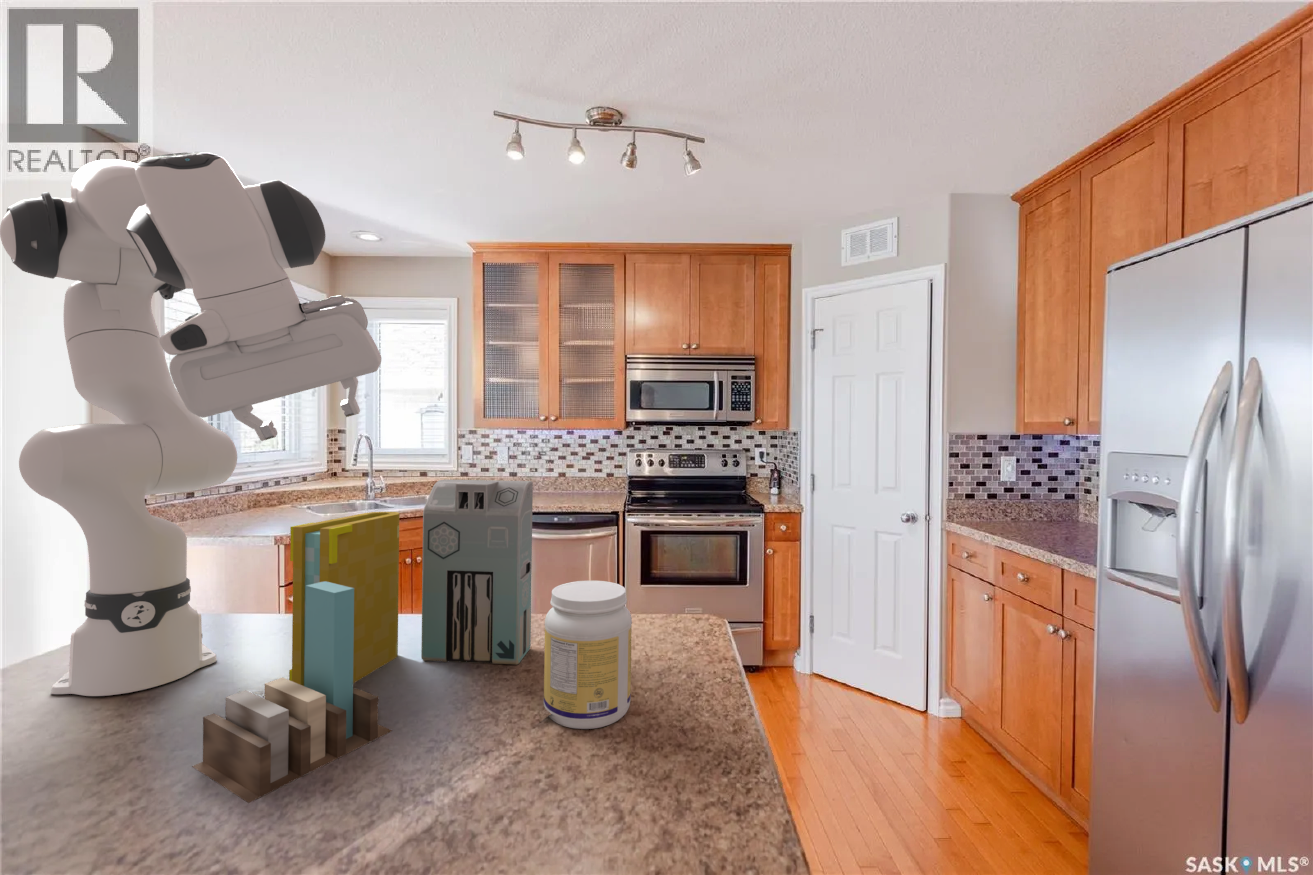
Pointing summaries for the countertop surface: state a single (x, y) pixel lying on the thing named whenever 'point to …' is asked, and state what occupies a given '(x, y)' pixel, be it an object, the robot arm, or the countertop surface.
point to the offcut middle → (302, 709)
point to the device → (477, 571)
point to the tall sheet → (330, 644)
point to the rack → (248, 757)
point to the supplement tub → (587, 654)
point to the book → (350, 583)
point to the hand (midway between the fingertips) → (312, 425)
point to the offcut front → (262, 725)
